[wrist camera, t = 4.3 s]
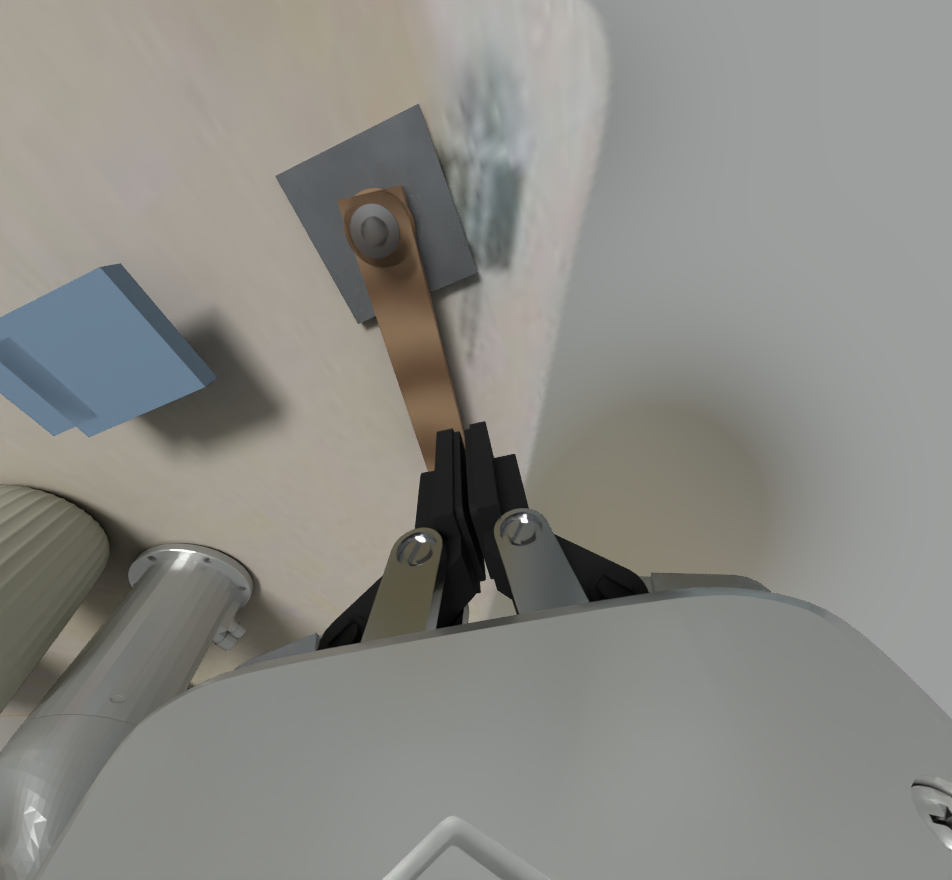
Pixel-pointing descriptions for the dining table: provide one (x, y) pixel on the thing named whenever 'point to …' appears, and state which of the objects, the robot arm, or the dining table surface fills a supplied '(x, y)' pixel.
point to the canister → (41, 576)
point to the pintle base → (380, 166)
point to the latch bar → (403, 309)
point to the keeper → (95, 355)
